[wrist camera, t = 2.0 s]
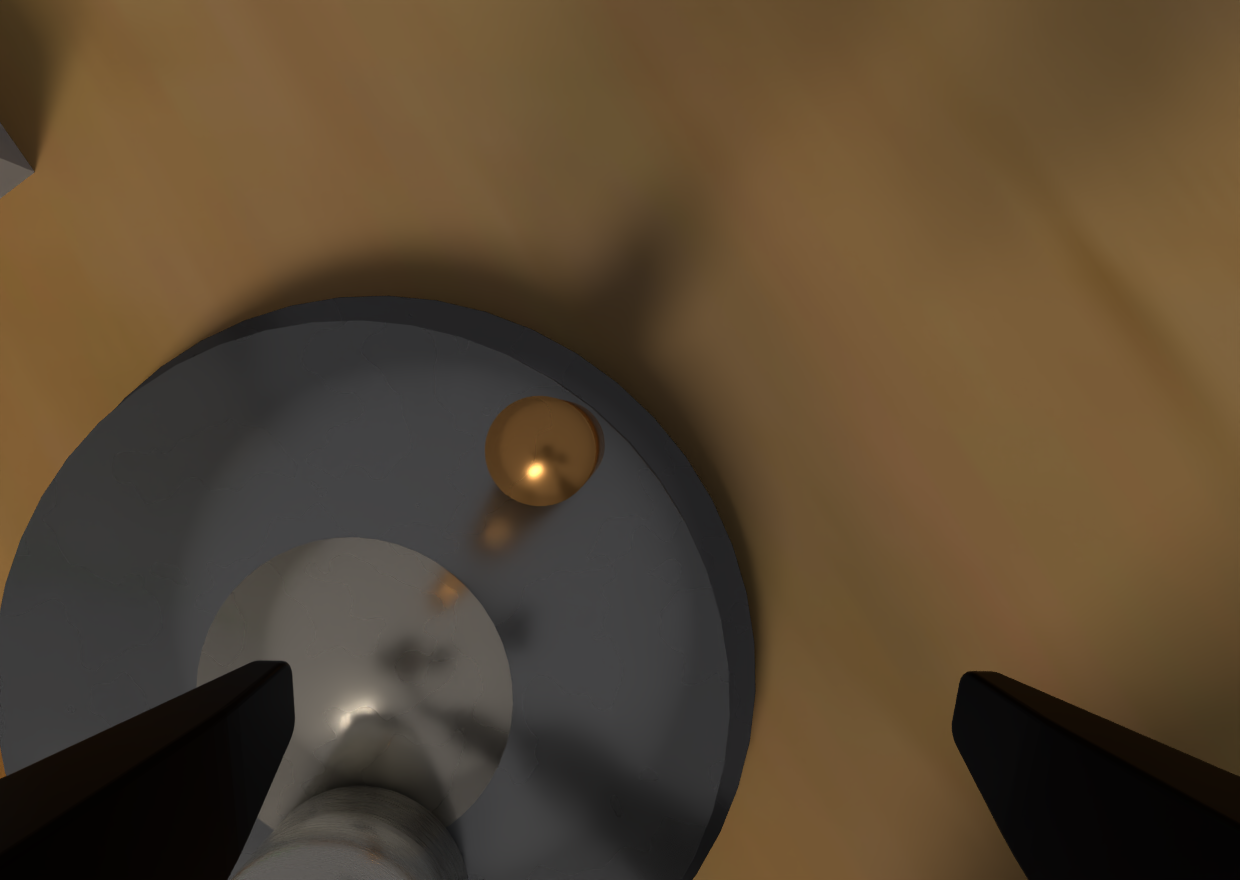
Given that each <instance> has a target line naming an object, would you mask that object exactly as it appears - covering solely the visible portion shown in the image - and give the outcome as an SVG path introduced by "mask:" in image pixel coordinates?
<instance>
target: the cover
mask: <svg viewBox="0 0 1240 880" xmlns="http://www.w3.org/2000/svg"><path fill="white" fill-rule="evenodd" d="M231 880H468V879H467V873H466V868H465V865H464V862H463V859H462V855H461V853H460V851H459V849H458V847H457V845H456V843H455V841H454V840H453V838H452V836H451V835H450V833H449V832H448V830H447V829H446V828H445V827H444V825H443V824H442V823H441V822H440V821H439V820H438V819H437V818H436V817H435V816H434V815H433V814H432V813H431V812H430V811H429V810H427V809H426V808H424V807H423V806H422V805H420V804H419V803H417V802H416V801H414V800H412V799H410V798H408V797H406V796H404V795H402V794H399V793H397V792H394V791H391V790H387V789H383V788H379V787H371V786H347V787H340V788H336V789H332V790H328V791H325V792H322V793H320V794H318V795H315V796H313V797H311V798H310V799H308V800H306V801H305V802H303V803H301V804H300V805H299V806H298V807H296V808H295V809H294V810H293V811H291V812H290V813H289V814H288V815H287V816H286V817H285V819H284V820H283V821H282V822H281V823H280V824H279V825H278V826H277V827H276V829H275V830H274V831H273V832H272V833H271V834H270V835H269V837H268V838H267V839H266V840H265V841H264V842H263V843H262V844H261V846H260V847H259V848H258V849H257V850H256V851H255V852H254V854H253V855H252V856H251V857H250V858H249V859H248V860H247V862H246V863H245V864H244V865H243V866H242V867H241V868H240V870H239V871H238V872H237V873H236V874H235V875H234V876H233V877H232V879H231Z"/></svg>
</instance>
